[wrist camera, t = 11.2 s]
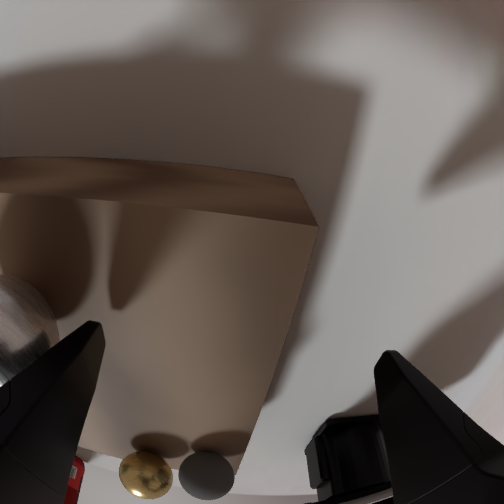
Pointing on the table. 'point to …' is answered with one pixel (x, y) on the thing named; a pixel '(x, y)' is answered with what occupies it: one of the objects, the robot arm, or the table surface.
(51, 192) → the board
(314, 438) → the robot arm
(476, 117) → the table surface
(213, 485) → the black rubber ball
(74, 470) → the canned food
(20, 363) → the steel ball
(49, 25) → the table surface
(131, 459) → the brass ball
